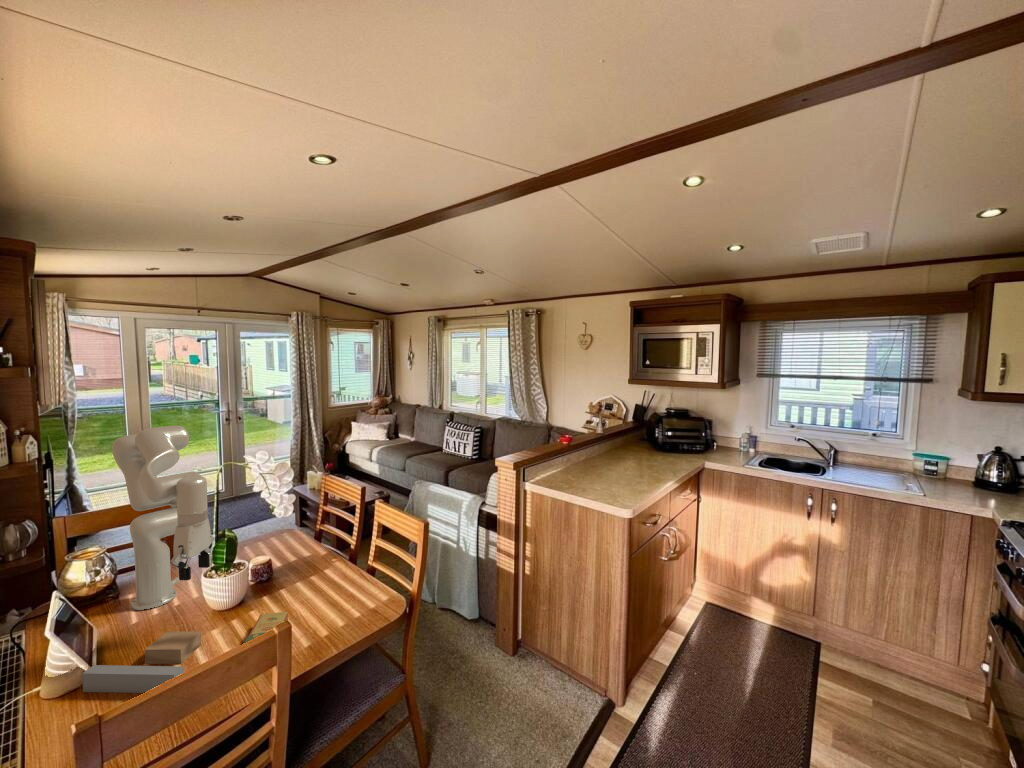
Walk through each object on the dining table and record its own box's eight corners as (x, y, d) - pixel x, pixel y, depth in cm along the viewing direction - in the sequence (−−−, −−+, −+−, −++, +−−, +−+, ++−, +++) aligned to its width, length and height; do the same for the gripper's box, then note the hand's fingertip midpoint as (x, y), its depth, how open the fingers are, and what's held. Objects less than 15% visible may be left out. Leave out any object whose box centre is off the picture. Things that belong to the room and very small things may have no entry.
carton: (288, 623, 140) (288, 610, 140) (273, 656, 124) (273, 642, 124) (260, 626, 138) (260, 613, 138) (241, 660, 122) (241, 646, 122)
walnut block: (167, 646, 128) (167, 631, 128) (201, 645, 128) (200, 631, 128) (145, 664, 120) (144, 649, 120) (181, 664, 121) (180, 649, 120)
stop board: (94, 683, 113) (93, 665, 113) (184, 684, 113) (183, 666, 112) (83, 692, 110) (82, 673, 110) (175, 693, 110) (174, 674, 110)
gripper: (201, 507, 140) (203, 560, 141) (157, 528, 123) (159, 588, 124) (224, 507, 140) (226, 560, 141) (182, 528, 122) (185, 588, 123)
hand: (194, 572), depth 132 cm, fingers open, 7 cm apart
